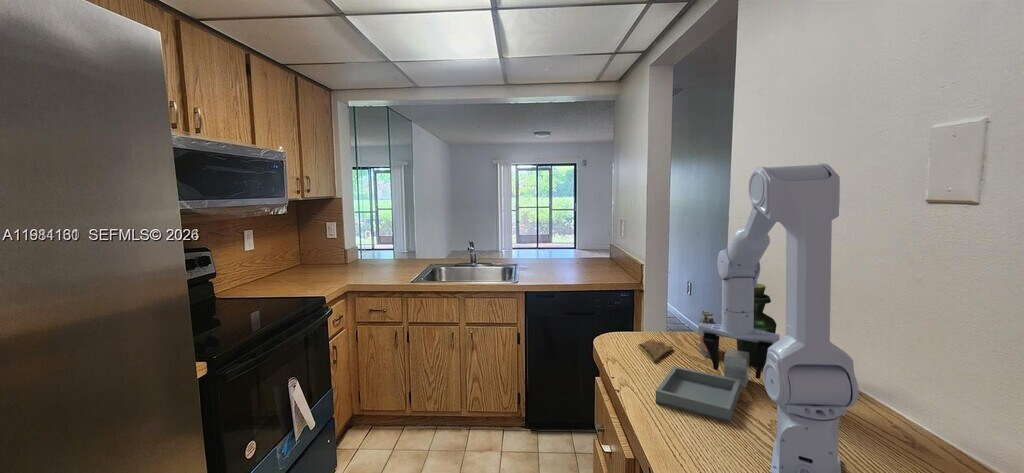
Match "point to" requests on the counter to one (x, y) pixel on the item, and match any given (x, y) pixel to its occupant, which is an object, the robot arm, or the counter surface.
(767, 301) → the potion bottle
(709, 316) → the lighter
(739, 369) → the aluminium block
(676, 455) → the counter surface
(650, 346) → the shard
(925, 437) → the counter surface
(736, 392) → the tray
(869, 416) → the counter surface
